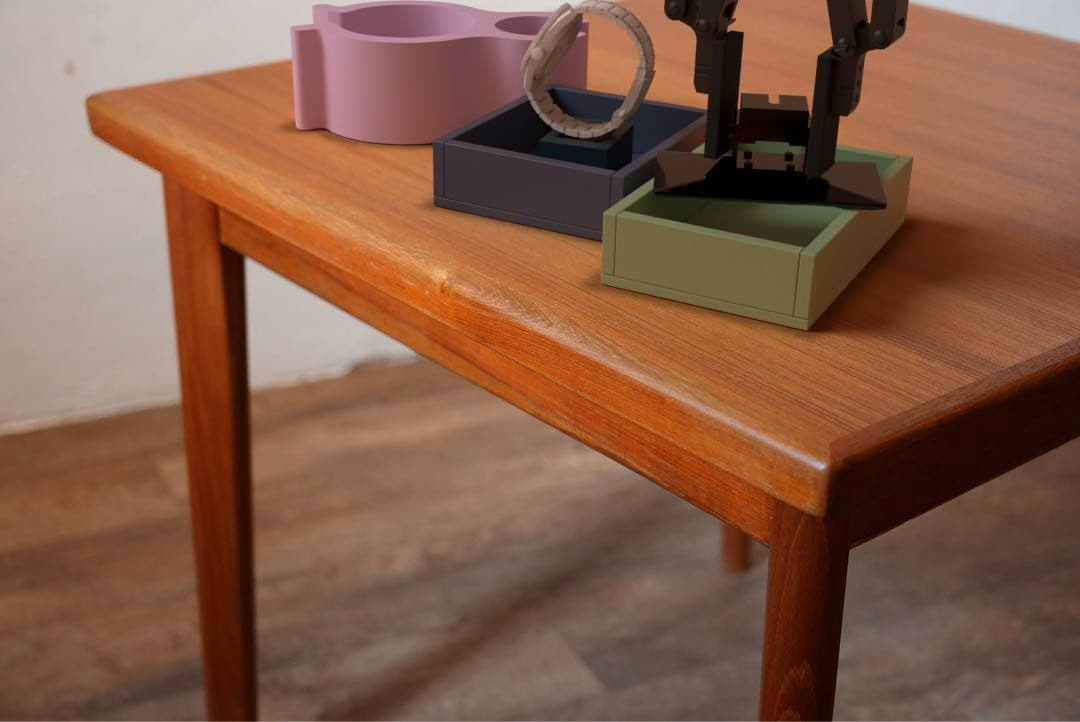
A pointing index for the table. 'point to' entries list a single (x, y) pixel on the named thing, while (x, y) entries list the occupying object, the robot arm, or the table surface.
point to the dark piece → (768, 165)
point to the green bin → (751, 245)
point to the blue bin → (553, 161)
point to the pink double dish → (415, 67)
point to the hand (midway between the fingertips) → (768, 160)
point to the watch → (578, 135)
